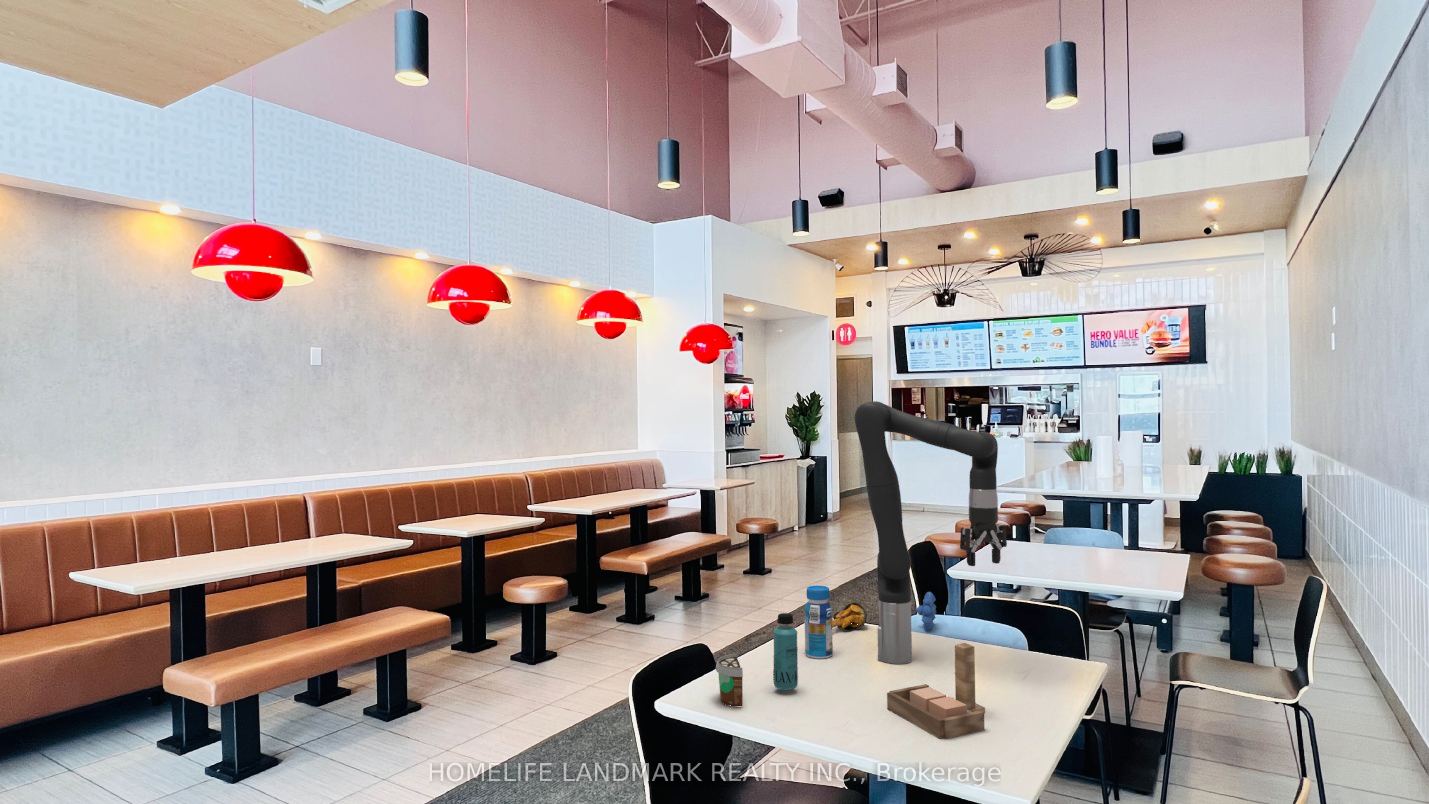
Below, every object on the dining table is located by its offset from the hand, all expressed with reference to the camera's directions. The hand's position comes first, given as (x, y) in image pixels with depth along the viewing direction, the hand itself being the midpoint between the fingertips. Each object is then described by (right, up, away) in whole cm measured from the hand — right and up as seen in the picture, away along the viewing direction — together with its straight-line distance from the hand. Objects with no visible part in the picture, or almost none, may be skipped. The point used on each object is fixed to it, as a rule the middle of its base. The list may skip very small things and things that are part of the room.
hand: (983, 564), depth 217 cm
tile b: (-23, -30, -27) cm, 46 cm away
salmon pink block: (-20, -30, -33) cm, 49 cm away
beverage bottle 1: (-55, -31, -11) cm, 64 cm away
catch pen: (-21, -30, -30) cm, 47 cm away
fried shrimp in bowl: (-31, -31, +44) cm, 62 cm away
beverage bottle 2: (-43, -31, +19) cm, 56 cm away
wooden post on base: (-13, -30, -27) cm, 42 cm away
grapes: (-4, -31, +44) cm, 54 cm away
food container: (-70, -31, -17) cm, 79 cm away
